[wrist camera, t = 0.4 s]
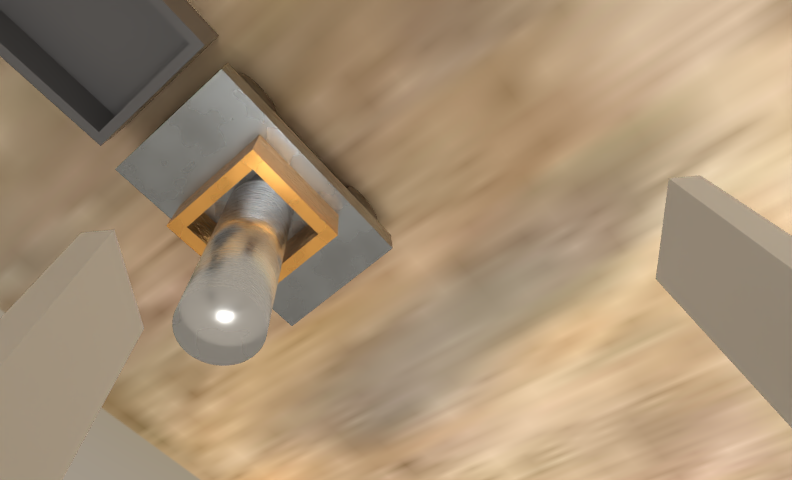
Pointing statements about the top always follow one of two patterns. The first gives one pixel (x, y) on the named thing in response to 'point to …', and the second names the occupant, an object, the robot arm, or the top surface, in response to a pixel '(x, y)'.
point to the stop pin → (235, 279)
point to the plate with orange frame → (247, 161)
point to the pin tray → (101, 53)
